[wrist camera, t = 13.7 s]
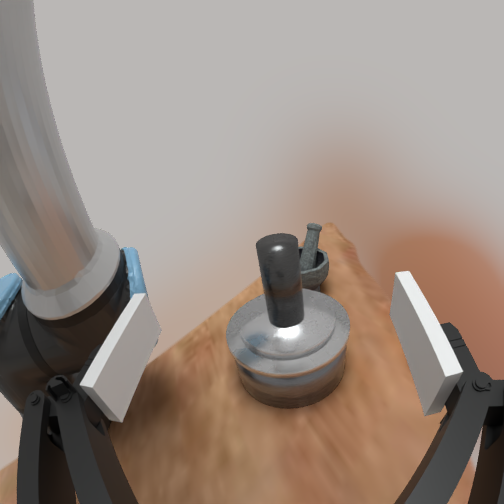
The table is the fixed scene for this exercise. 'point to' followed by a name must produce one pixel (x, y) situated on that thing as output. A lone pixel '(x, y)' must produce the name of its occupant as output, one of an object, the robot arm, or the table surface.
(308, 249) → the mortar and pestle
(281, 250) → the steel lid
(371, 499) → the table surface
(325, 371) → the cooker pot
